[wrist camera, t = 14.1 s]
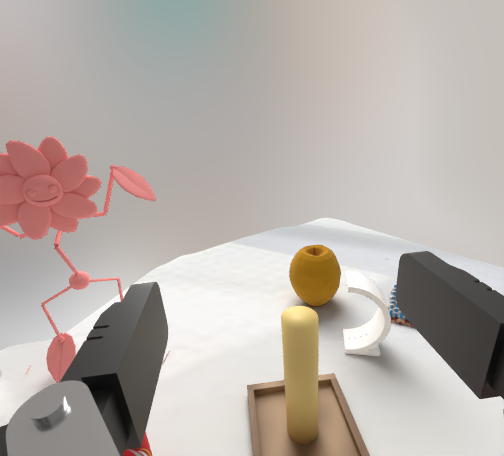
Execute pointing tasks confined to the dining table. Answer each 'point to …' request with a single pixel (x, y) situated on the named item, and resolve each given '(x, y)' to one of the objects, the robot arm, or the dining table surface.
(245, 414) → the dining table surface
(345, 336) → the headphone stand
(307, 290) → the apple
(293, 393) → the dowel
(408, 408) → the dining table surface
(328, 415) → the walnut tray
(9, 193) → the figurine
